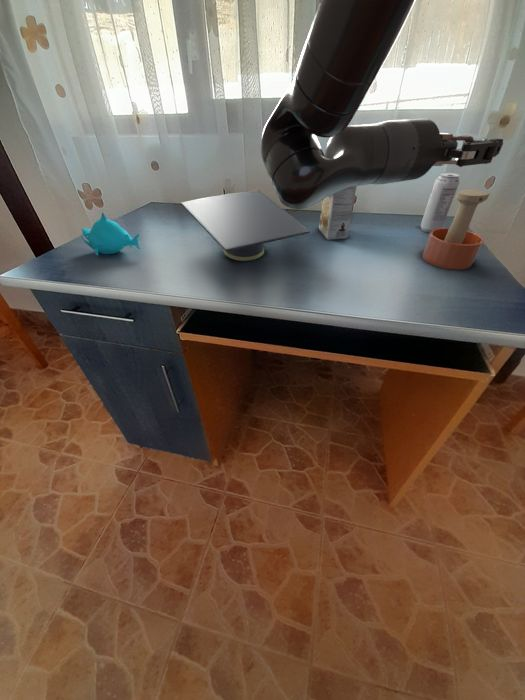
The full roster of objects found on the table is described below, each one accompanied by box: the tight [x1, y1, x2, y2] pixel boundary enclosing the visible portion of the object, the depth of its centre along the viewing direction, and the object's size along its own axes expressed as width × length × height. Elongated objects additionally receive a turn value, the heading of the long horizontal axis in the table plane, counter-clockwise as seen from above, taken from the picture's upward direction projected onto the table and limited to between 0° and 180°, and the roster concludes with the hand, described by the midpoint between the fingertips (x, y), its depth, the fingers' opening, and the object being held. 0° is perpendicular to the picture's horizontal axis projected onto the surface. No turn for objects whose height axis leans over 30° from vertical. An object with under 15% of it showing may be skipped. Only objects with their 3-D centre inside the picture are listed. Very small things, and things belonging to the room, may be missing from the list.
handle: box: [444, 189, 491, 244], centre depth 70 cm, size 5×6×15 cm
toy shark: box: [81, 211, 141, 256], centre depth 76 cm, size 10×18×11 cm, turn 72°
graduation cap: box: [180, 190, 311, 262], centre depth 77 cm, size 28×23×10 cm
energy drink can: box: [419, 172, 460, 234], centre depth 86 cm, size 6×6×15 cm
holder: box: [421, 227, 484, 270], centre depth 73 cm, size 11×11×6 cm
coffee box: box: [318, 186, 358, 240], centre depth 84 cm, size 9×6×16 cm
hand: (472, 144), depth 47 cm, fingers open, 8 cm apart
